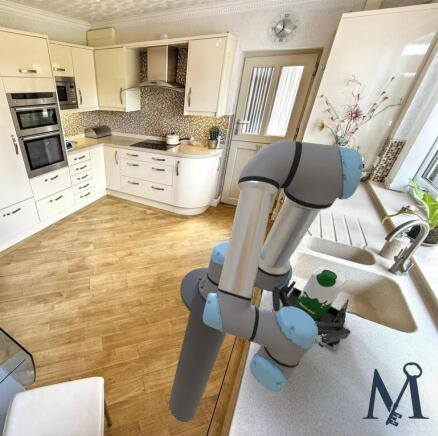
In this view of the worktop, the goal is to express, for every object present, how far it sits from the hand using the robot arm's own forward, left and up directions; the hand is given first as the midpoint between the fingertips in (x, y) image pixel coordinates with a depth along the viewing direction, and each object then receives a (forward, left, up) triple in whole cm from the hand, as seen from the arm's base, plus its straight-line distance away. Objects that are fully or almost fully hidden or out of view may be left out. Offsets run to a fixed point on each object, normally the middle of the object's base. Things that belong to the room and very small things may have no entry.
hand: (315, 297), depth 73 cm
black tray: (+2, +9, -17) cm, 19 cm away
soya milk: (+1, +9, -14) cm, 17 cm away
